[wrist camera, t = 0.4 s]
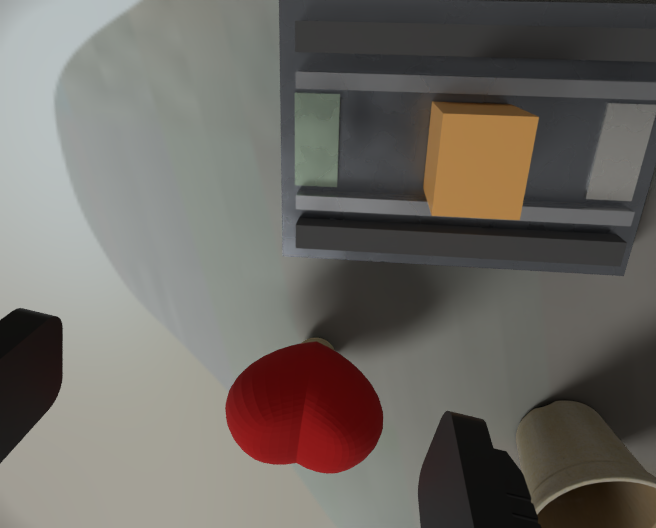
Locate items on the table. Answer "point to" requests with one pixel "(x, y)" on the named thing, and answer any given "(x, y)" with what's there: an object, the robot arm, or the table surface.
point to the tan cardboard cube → (478, 159)
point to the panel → (469, 87)
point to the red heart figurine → (305, 409)
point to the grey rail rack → (469, 44)
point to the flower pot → (582, 471)
